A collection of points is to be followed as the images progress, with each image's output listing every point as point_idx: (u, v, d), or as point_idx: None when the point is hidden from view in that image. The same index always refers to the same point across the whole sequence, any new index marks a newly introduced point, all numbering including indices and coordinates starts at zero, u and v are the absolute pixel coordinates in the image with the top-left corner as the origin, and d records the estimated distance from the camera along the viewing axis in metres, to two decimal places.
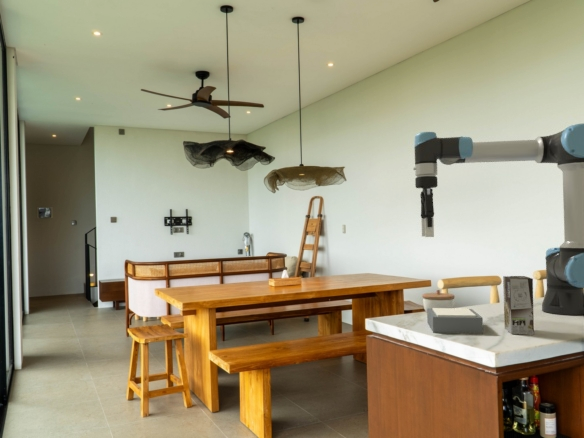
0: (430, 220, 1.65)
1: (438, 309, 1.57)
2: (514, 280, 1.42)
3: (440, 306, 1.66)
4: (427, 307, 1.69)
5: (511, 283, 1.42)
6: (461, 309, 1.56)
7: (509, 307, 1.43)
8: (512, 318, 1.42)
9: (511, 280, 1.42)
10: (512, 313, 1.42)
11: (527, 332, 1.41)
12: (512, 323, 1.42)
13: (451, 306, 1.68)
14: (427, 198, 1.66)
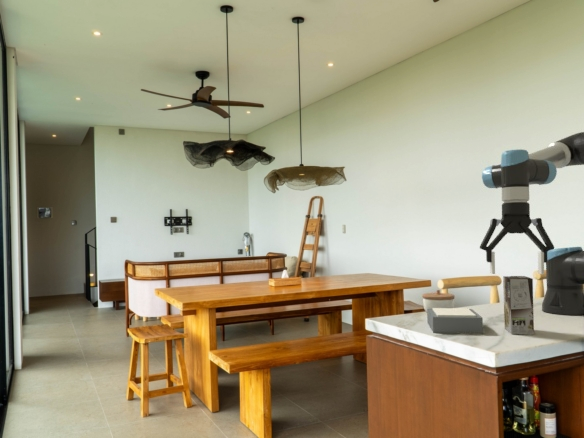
0: (487, 254, 1.47)
1: (438, 309, 1.57)
2: (514, 280, 1.42)
3: (440, 306, 1.66)
4: (427, 307, 1.69)
5: (511, 283, 1.42)
6: (461, 309, 1.56)
7: (509, 307, 1.43)
8: (512, 318, 1.42)
9: (511, 280, 1.42)
10: (512, 313, 1.42)
11: (527, 332, 1.41)
12: (512, 323, 1.42)
13: (451, 306, 1.68)
14: (488, 230, 1.48)
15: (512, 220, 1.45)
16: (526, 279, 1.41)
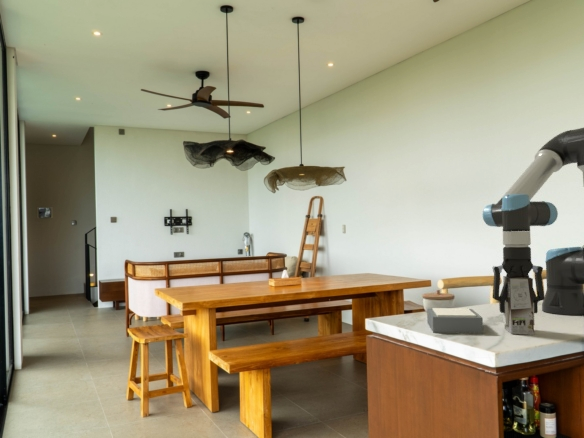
0: (500, 305, 1.46)
1: (438, 309, 1.57)
2: (514, 280, 1.42)
3: (440, 306, 1.66)
4: (427, 307, 1.69)
5: (511, 283, 1.42)
6: (461, 309, 1.56)
7: (509, 307, 1.43)
8: (512, 318, 1.42)
9: (511, 280, 1.42)
10: (512, 313, 1.42)
11: (527, 332, 1.41)
12: (512, 323, 1.42)
13: (451, 306, 1.68)
14: (494, 279, 1.47)
15: (512, 262, 1.45)
16: (526, 279, 1.41)
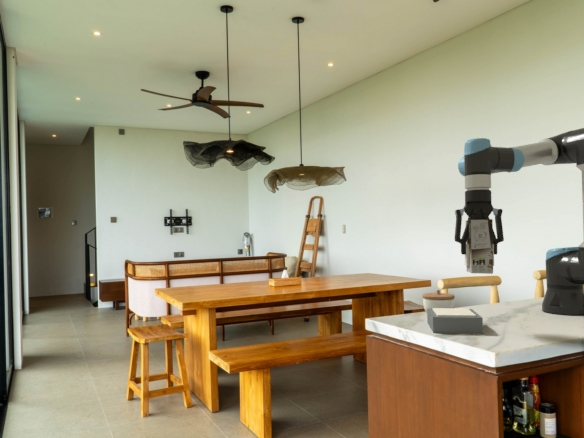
0: (461, 247, 1.50)
1: (438, 309, 1.57)
2: (474, 221, 1.46)
3: (440, 306, 1.66)
4: (427, 307, 1.69)
5: (472, 224, 1.46)
6: (461, 309, 1.56)
7: (470, 248, 1.47)
8: (472, 258, 1.46)
9: (472, 221, 1.46)
10: (472, 253, 1.46)
11: (486, 271, 1.45)
12: (472, 263, 1.46)
13: (451, 306, 1.68)
14: (456, 222, 1.51)
15: (474, 205, 1.49)
16: (486, 220, 1.45)
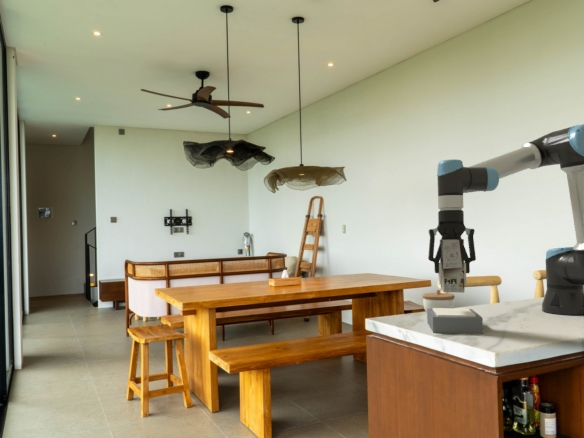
0: None
1: (438, 309, 1.57)
2: (446, 241, 1.49)
3: (440, 306, 1.66)
4: (427, 307, 1.69)
5: (443, 244, 1.49)
6: (461, 309, 1.56)
7: (442, 267, 1.50)
8: (444, 277, 1.49)
9: (443, 241, 1.49)
10: (444, 272, 1.49)
11: (458, 290, 1.48)
12: (444, 282, 1.49)
13: (451, 306, 1.68)
14: None
15: (446, 225, 1.52)
16: (457, 240, 1.48)
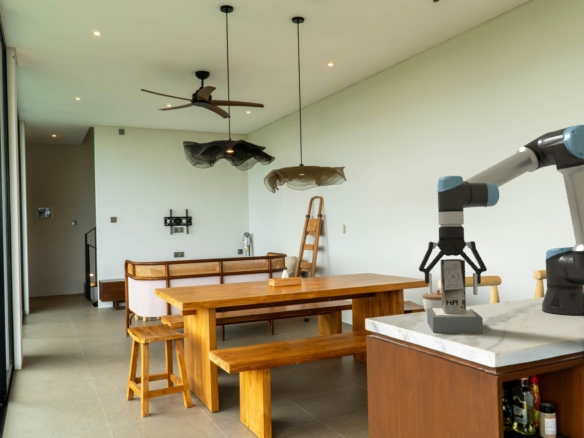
0: (425, 276, 1.54)
1: (438, 309, 1.57)
2: (447, 262, 1.49)
3: (440, 306, 1.66)
4: (427, 307, 1.69)
5: (445, 265, 1.49)
6: None
7: (443, 288, 1.50)
8: (446, 298, 1.49)
9: (445, 262, 1.49)
10: (446, 293, 1.49)
11: (459, 311, 1.48)
12: (445, 303, 1.49)
13: None
14: (426, 252, 1.55)
15: (447, 243, 1.52)
16: (459, 261, 1.48)
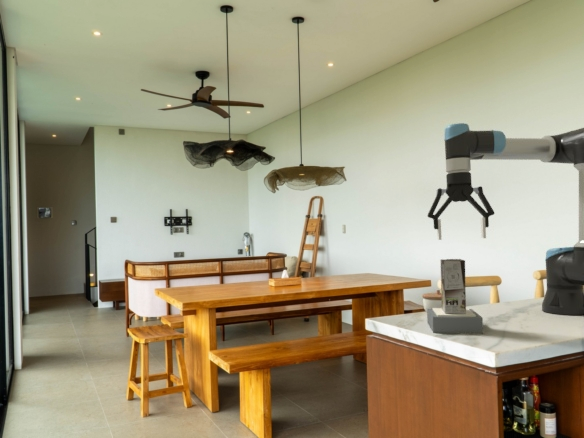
0: (434, 222, 1.59)
1: (438, 309, 1.57)
2: (448, 262, 1.49)
3: (440, 306, 1.66)
4: (427, 307, 1.69)
5: (445, 265, 1.49)
6: None
7: (443, 288, 1.50)
8: (446, 298, 1.49)
9: (445, 262, 1.49)
10: (446, 293, 1.49)
11: (459, 311, 1.48)
12: (445, 303, 1.49)
13: None
14: None
15: (455, 189, 1.57)
16: (459, 261, 1.48)
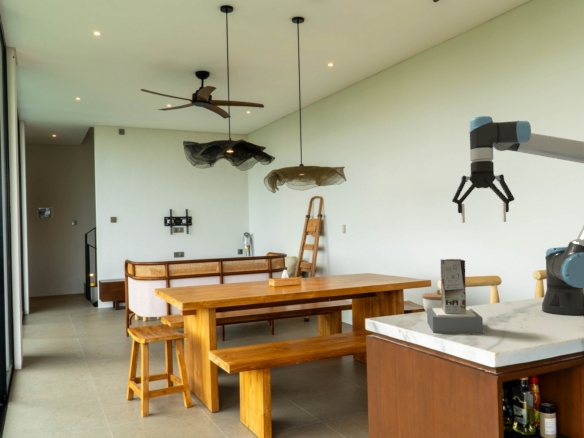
0: (458, 206, 1.73)
1: (438, 309, 1.57)
2: (448, 262, 1.49)
3: (440, 306, 1.66)
4: (427, 307, 1.69)
5: (445, 265, 1.49)
6: None
7: (443, 288, 1.50)
8: (446, 298, 1.49)
9: (445, 262, 1.49)
10: (446, 293, 1.49)
11: (459, 311, 1.48)
12: (445, 303, 1.49)
13: None
14: (459, 186, 1.74)
15: (479, 176, 1.71)
16: (459, 261, 1.48)
